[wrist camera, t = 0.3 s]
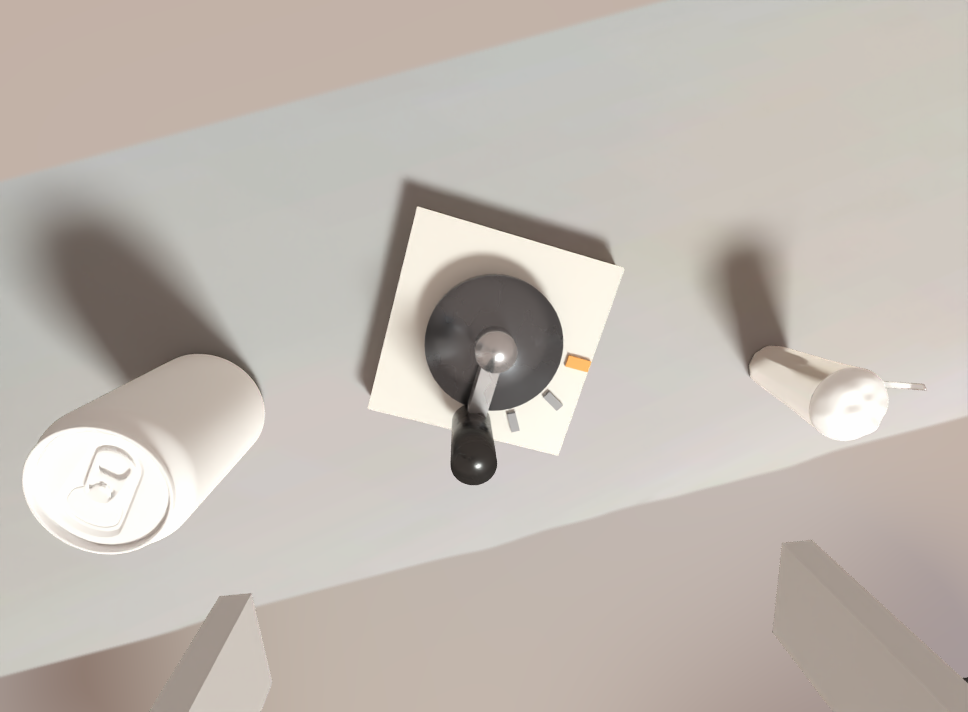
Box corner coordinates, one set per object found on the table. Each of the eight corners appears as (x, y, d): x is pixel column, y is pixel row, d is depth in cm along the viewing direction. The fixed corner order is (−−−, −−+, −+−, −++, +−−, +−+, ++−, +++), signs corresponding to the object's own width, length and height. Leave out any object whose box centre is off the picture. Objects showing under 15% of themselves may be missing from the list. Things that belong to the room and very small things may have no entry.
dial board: (372, 398, 37) (366, 410, 35) (419, 206, 34) (416, 206, 32) (553, 443, 39) (558, 457, 37) (615, 265, 35) (625, 268, 33)
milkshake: (818, 367, 38) (939, 418, 29) (755, 405, 39) (853, 468, 29) (794, 318, 37) (911, 354, 28) (729, 358, 38) (821, 408, 28)
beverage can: (133, 420, 37) (-15, 515, 25) (183, 329, 35) (48, 385, 24) (236, 475, 38) (141, 587, 27) (288, 389, 37) (211, 470, 25)
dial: (445, 257, 32) (441, 269, 26) (577, 295, 34) (609, 316, 27) (403, 416, 35) (389, 466, 28) (526, 447, 36) (542, 502, 29)
